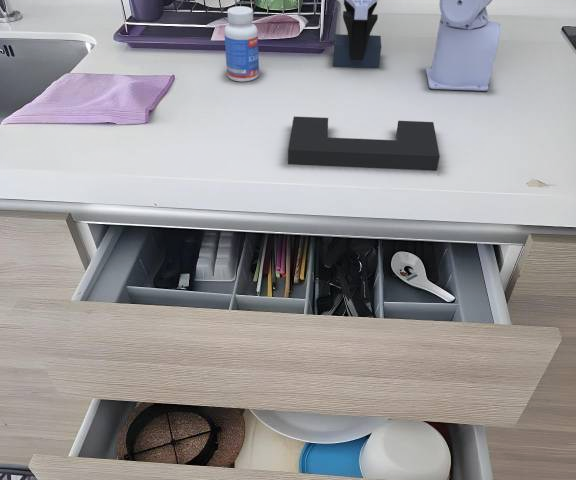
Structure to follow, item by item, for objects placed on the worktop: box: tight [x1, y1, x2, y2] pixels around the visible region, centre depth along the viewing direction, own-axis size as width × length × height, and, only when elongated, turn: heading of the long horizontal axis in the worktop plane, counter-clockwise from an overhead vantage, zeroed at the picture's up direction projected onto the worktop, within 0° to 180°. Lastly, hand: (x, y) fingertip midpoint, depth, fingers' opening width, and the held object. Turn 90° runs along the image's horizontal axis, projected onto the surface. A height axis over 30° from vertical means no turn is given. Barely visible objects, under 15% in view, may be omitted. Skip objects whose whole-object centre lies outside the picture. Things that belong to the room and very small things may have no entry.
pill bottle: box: [223, 5, 260, 82], centre depth 95 cm, size 6×5×10 cm
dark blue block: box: [332, 33, 382, 69], centre depth 101 cm, size 8×5×4 cm, turn 85°
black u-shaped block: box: [287, 115, 440, 171], centre depth 81 cm, size 20×10×2 cm, turn 85°
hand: (356, 53), depth 101 cm, fingers closed on dark blue block, 5 cm apart
